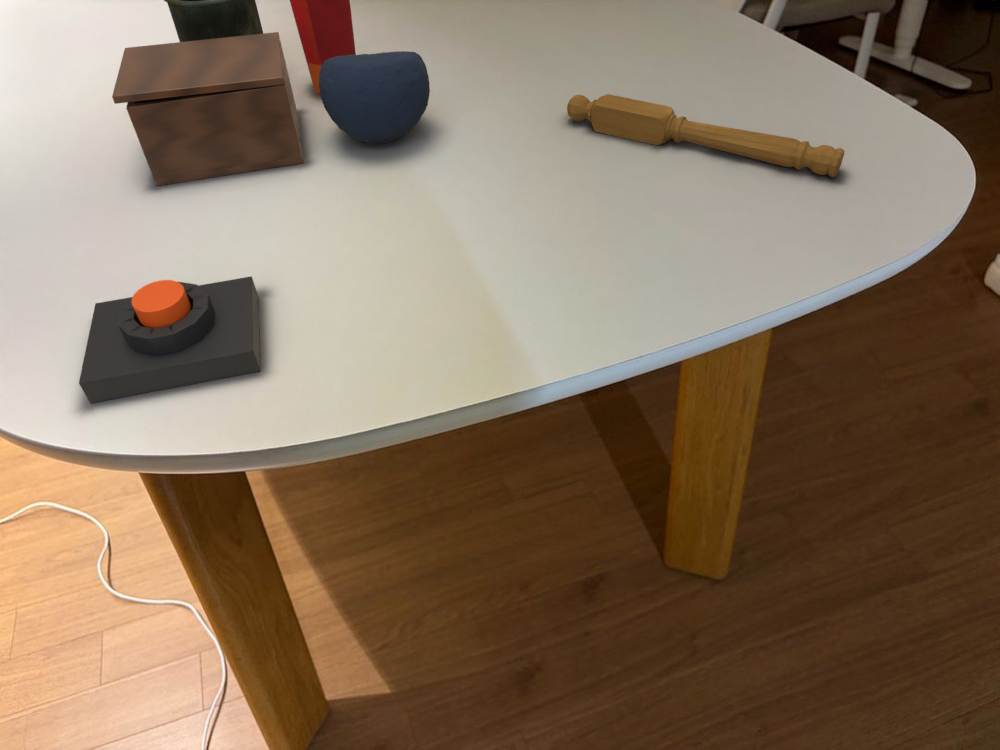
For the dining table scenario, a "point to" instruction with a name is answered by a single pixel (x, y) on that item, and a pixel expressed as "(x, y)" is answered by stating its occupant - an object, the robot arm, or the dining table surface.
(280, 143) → the box
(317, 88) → the red tall block
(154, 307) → the button
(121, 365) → the switch block
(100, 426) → the dining table surface
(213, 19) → the mug
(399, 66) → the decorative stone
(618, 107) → the wooden table leg
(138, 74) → the box lid
